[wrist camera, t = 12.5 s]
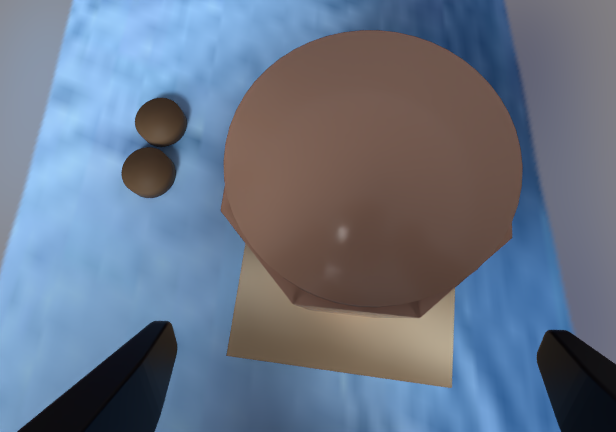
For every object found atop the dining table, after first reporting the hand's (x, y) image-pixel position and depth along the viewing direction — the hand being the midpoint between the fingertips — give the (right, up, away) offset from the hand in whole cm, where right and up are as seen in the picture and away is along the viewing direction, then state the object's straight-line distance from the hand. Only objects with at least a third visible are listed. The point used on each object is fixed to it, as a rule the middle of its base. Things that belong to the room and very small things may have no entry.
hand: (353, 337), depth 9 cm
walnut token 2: (-10, +5, +12) cm, 16 cm away
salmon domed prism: (+1, +2, +9) cm, 9 cm away
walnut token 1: (-9, +8, +13) cm, 18 cm away
